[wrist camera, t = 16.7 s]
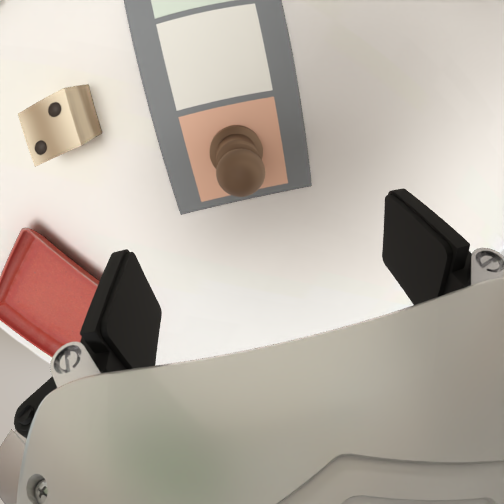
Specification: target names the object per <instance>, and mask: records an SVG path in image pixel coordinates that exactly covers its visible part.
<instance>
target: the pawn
mask: <svg viewBox="0 0 504 504" xmlns="http://www.w3.org/2000/svg"><path fill="white" fill-rule="evenodd" d="M262 156H263V147H262V143H261V141H260V139H259V138H258V136H257V135H256V133H255V132H254V131H252V130H251V129H249V128H247V127H245V126H241V125H232V126H228V127H225V128H223V129H221V130H220V131H219V132H218V133H217V134H216V135H215V136H214V137H213V139H212V142H211V145H210V159H211V162H212V164H213V166H214V167H215V168H216V177H217V181H218V183H219V185H220V187H221V188H222V189H223V190H224V191H225V192H226V193H228V194H230V195H232V196H236V197H245V196H249V195H251V194H253V193H255V192H256V191H257V190H258V189H259V188H260V187H261V185H262V184H263V182H264V179H265V167H264V164H263V162H262Z"/></svg>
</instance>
